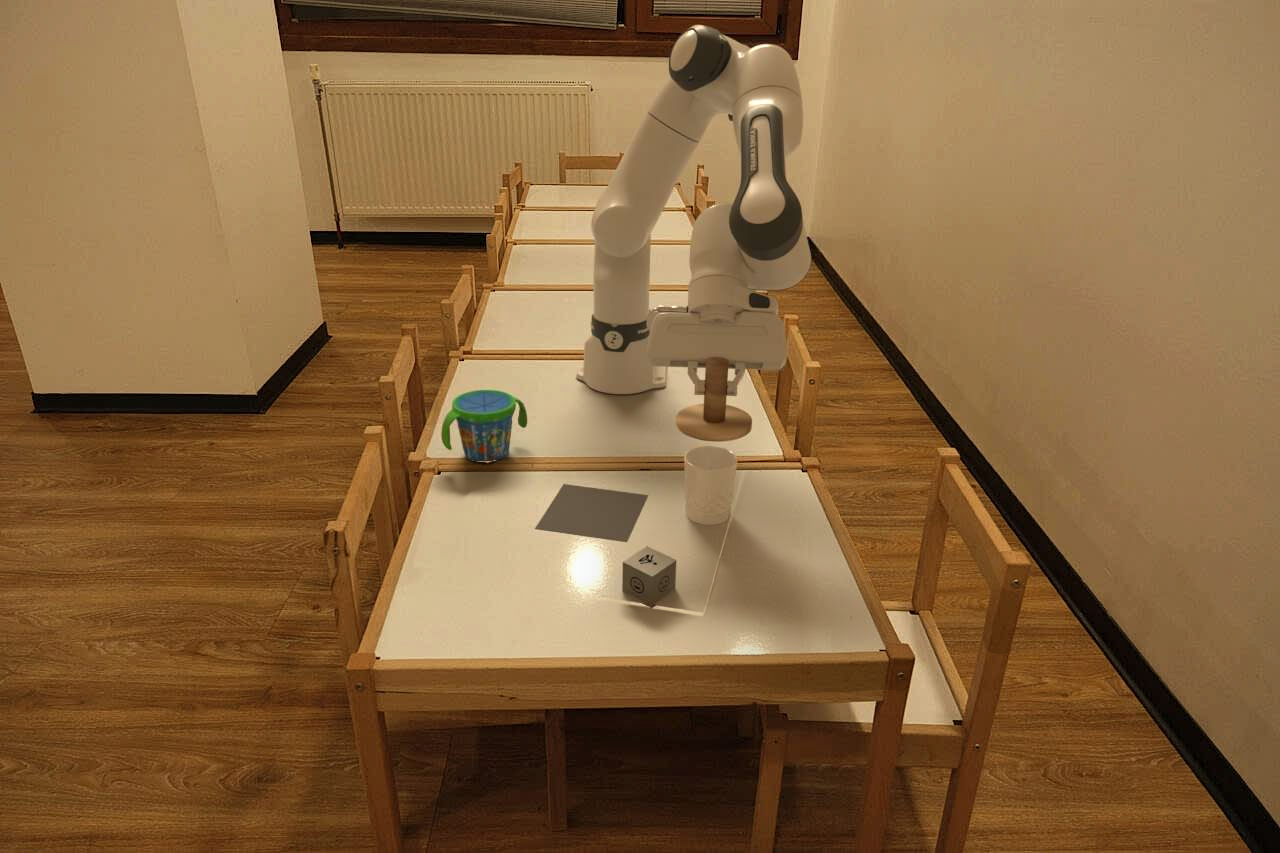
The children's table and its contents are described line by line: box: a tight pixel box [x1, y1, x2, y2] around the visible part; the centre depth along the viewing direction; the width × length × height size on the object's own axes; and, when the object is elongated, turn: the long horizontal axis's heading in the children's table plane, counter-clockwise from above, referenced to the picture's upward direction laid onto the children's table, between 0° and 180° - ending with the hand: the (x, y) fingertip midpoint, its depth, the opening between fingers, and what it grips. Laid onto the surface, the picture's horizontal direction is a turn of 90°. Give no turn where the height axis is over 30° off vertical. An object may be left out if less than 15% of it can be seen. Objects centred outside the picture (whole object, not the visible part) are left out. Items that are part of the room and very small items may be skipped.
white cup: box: [683, 445, 738, 526], centre depth 135 cm, size 8×8×10 cm
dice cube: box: [621, 545, 677, 609], centre depth 118 cm, size 5×5×5 cm
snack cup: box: [440, 389, 528, 462], centre depth 152 cm, size 16×10×10 cm
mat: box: [534, 483, 649, 543], centre depth 137 cm, size 14×14×1 cm
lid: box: [675, 357, 753, 443], centre depth 129 cm, size 11×11×10 cm
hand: (715, 394), depth 128 cm, fingers closed on lid, 3 cm apart
